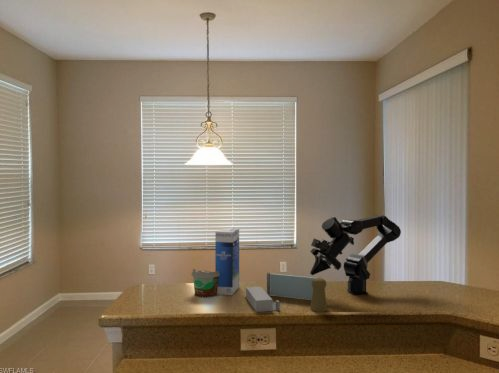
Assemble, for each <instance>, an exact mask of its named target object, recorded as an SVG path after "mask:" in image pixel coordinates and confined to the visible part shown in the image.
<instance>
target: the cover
mask: <svg viewBox="0 0 499 373" xmlns="http://www.w3.org/2000/svg"><path fill="white" fill-rule="evenodd" d="M315 278H316V277H313V276H312V277H311V276H305V275H302V276H300V275H290V274H281V273H271V272H270V296H275V297H281V298H282V297H285V298H293V299H301V300H309V301H310V300H311V301H312V293H313V287H312V284H311V282H312V280H313V279H315Z"/></svg>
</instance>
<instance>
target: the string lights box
mask: <svg viewBox="0 0 499 373" xmlns="http://www.w3.org/2000/svg"><path fill="white" fill-rule="evenodd" d="M214 232H215V238H214V239H215V241H214V242H215V246H214V247H215V249H214V250H215V254H214V255H215V258H214V260H215V261H214V262H215V263H214V264H215V268H214V269H215V271H214V272H216V271H219V273H220V276H218V287H217V296H218V295H220V296H233V295H234V294H235V293H236V291H237V290H238V289H239V288H240V228H237V227H236V228H235V227H231V228H230V227H222V228H221V229H219V230H216V231H214Z"/></svg>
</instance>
